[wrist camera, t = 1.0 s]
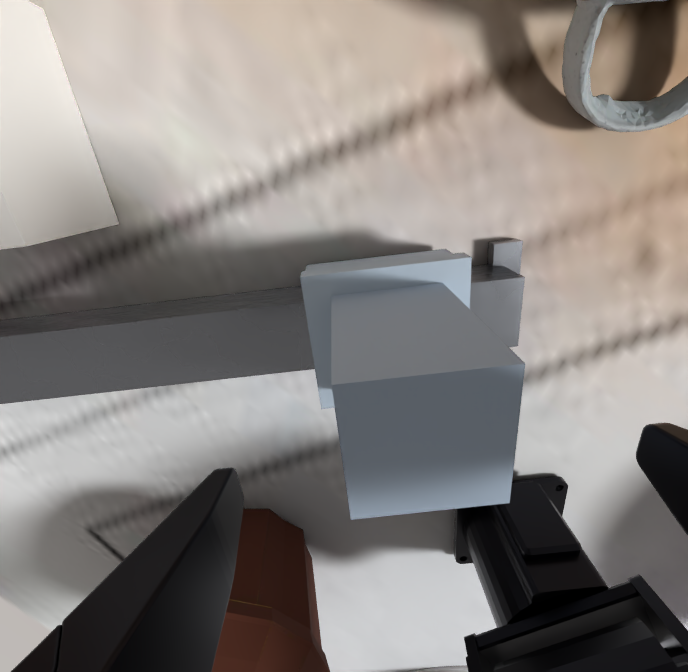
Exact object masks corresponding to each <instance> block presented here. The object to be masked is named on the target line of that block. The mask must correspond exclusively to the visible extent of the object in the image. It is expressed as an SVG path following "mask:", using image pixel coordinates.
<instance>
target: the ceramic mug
mask: <svg viewBox="0 0 688 672" xmlns="http://www.w3.org/2000/svg"><path fill="white" fill-rule="evenodd" d="M652 1H667V0H576V2H577V6H576V8H575V10H574V14H573V18H572V20H571V23H570V26H569V29H568V31H567V34H566V39H565V43H564V53H563V65H562V78H563V87H564V92H565V94H566V97H567V100H568V102H569V103H570V104H571V105H572V107H573V108H574V109H575V111H576V112H577V113H579V114H580V115H582V116H583V117H584V118H586V119H587V120H589V121H591V122H592V123H593V124H595V125H596V126H598V127H600V128H604V129H606V130H609V131H617V132H640V131H645V130H651V129H655V128H659V127H662V126H664V125H667V124H670V123H672V122H674V121H676V120H678V119H680V118H682V117H684V116H685V115H687V114H688V76H687V77H686V78H685V79H684V80H683V81H682V82H681V83H679V84H678V85H676V86H675V87H673V88H672V89H671V90H670V91H669V92H667V93H665V94H663V95H662V96H660V97H655V98H653V99H651V100H649V101H615V100H612V98H611V97H610V96H609V95H605V94H602V95H598V96H596V97H595V96H592V93H591V88H590V75H589V72H590V67H591V63H592V58H593V53H594V47H595V41H596V39H597V37H598V35H599V32H600V28H601V24H602V20H603V17H604V15H605V14H606V12H607V10H608V8H609V7H610V6H612V5H619V4H631V3H641V2H652Z"/></svg>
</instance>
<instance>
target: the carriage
mask: <svg viewBox="0 0 688 672" xmlns="http://www.w3.org/2000/svg"><path fill="white" fill-rule="evenodd" d="M471 260H472V257H470V256H469V255H467V254H465V253H457V254H453V253H451V252H450V251H448V250H447V249H441V250H432V251H423V252H415V253H406V254H398V255H389V256H380V257H372V258H363V259H354V260H346V261H337V262H329V263H320V264H311V265H307V266H306V270H305V271H302V272H301V276H300V280H301V286H302V292H303V298H304V305H305V311H306V317H307V323H308V329H309V335H310V341H311V348H312V354H313V360H314V366H315V372H316V378H317V384H318V391H319V397H320V403H321V409H326V408H335V413H336V420H337V426H338V433H339V440H340V447H341V454H342V461H343V468H344V475H345V482H346V489H347V496H348V503H349V510H350V517H351V520H353V519H363V518H372V517H382V516H391V515H401V514H410V513H420V512H429V511H439V510H448V509H458V508H467V507H477V506H486V505H496V504H505V503H510V495H511V486H512V477H513V468H514V459H515V450H516V441H517V432H518V423H519V414H520V405H521V396H522V387H523V378H524V369H525V363H524V362H523V361H522V360H521V359H520V358H519V357H518V356H517V355H516V354H515V353H514V352H513V351H512V350H511V349H510V348H509V347H508V346H507V345H506V344H505V343H504V342H503V341H502V340H501V339H500V338H499V337H498V336H497V335H496V334H495V333H494V332H492V331H491V330H490V329H489V328H488V327H487V326H486V325H485V324H484V323H483V322H482V321H481V320H480V319H479V318H478V317H477V316H476V315H475V314H474V313H473V312H472V311H471V310H470V288H471Z"/></svg>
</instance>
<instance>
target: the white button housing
mask: <svg viewBox="0 0 688 672" xmlns="http://www.w3.org/2000/svg"><path fill="white" fill-rule="evenodd" d="M118 224H119V222H118V219H117V217H116V214H115V211H114V208H113V205H112V202H111V200H110V197H109V194H108V191H107V188H106V185H105V183H104V180H103V177H102V174H101V171H100V168H99V166H98V163H97V160H96V157H95V154H94V151H93V149H92V146H91V143H90V140H89V137H88V134H87V131H86V129H85V126H84V123H83V120H82V117H81V114H80V112H79V109H78V106H77V103H76V100H75V97H74V95H73V92H72V89H71V86H70V83H69V80H68V78H67V75H66V72H65V69H64V66H63V63H62V60H61V58H60V55H59V52H58V49H57V46H56V43H55V41H54V38H53V35H52V32H51V29H50V26H49V24H48V21H47V18H46V15H45V12H44V9H42V8H40V7H39V6H37V5H35V4H33V3H32V2H30V1H28V0H0V250H1V249H9V248H18V247H26V246H31V245H35V244H39V243H43V242H47V241H52V240H56V239H60V238H64V237H68V236H72V235H77V234H81V233H85V232H89V231H93V230H97V229H101V228H106V227H110V226H114V225H118Z"/></svg>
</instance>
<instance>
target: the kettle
mask: <svg viewBox="0 0 688 672" xmlns="http://www.w3.org/2000/svg"><path fill="white" fill-rule="evenodd" d="M410 672H468V667H467V666H444V667H434V668H427V669H421V670H415V671H410Z"/></svg>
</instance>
